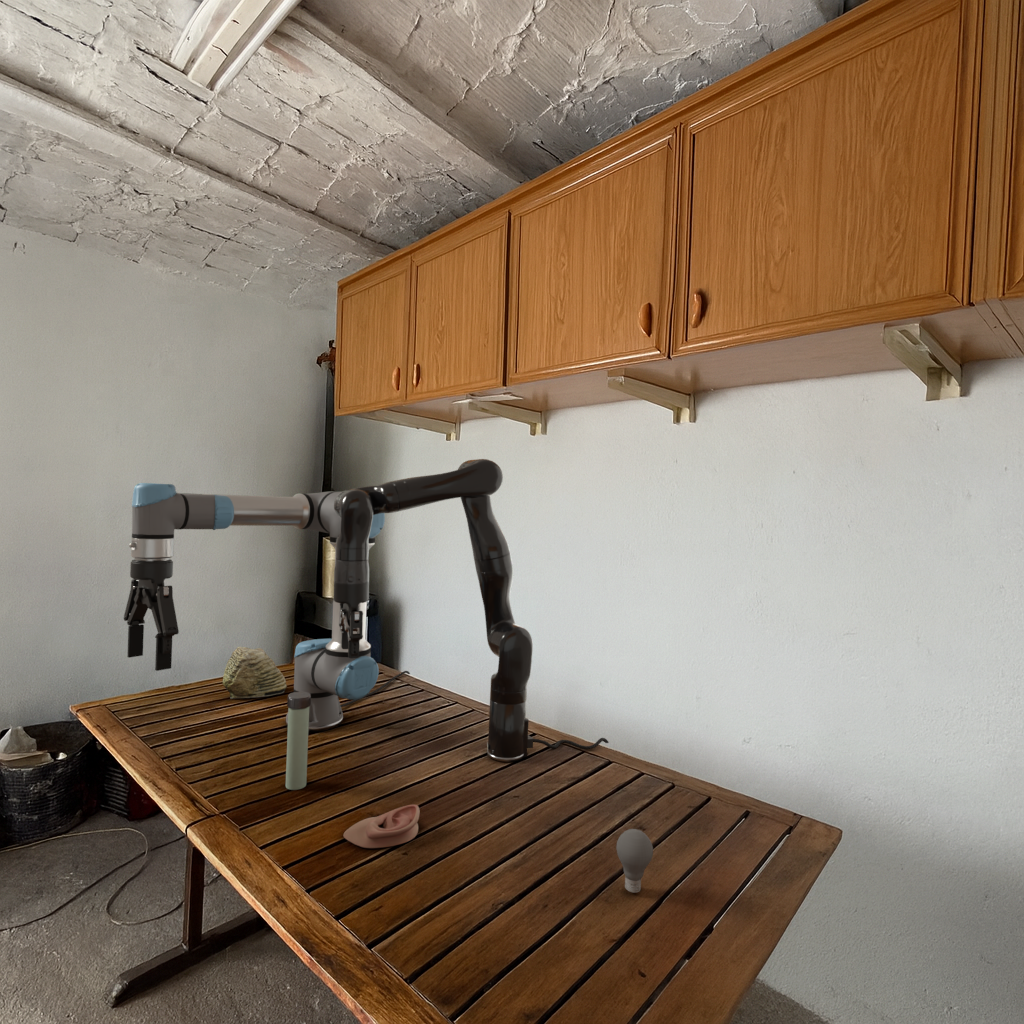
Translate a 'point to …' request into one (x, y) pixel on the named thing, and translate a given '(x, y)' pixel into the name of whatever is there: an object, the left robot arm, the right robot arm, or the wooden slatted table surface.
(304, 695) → the lid
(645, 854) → the light bulb
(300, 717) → the pale green tube
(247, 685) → the fossil
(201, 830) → the wooden slatted table surface
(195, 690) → the wooden slatted table surface
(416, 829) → the anatomical model
